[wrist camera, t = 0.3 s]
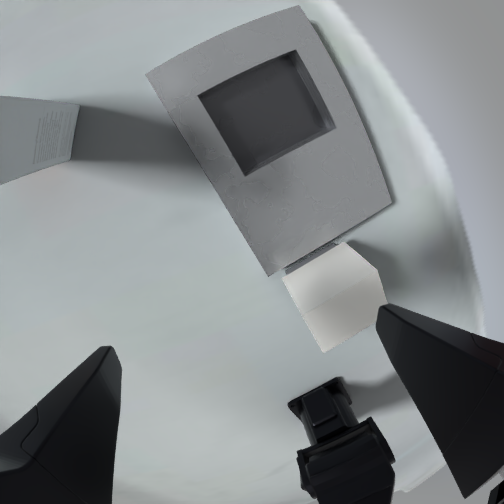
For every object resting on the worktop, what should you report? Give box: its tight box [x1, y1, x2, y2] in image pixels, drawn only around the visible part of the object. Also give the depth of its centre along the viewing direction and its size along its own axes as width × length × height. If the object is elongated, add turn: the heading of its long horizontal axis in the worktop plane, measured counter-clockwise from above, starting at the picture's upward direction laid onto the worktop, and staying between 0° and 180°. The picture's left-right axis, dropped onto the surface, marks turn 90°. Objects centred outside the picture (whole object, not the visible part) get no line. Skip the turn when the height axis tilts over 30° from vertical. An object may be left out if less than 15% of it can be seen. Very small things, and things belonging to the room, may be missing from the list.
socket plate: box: [145, 5, 392, 277], centre depth 19 cm, size 16×11×2 cm
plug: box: [282, 242, 388, 353], centre depth 21 cm, size 4×6×6 cm
